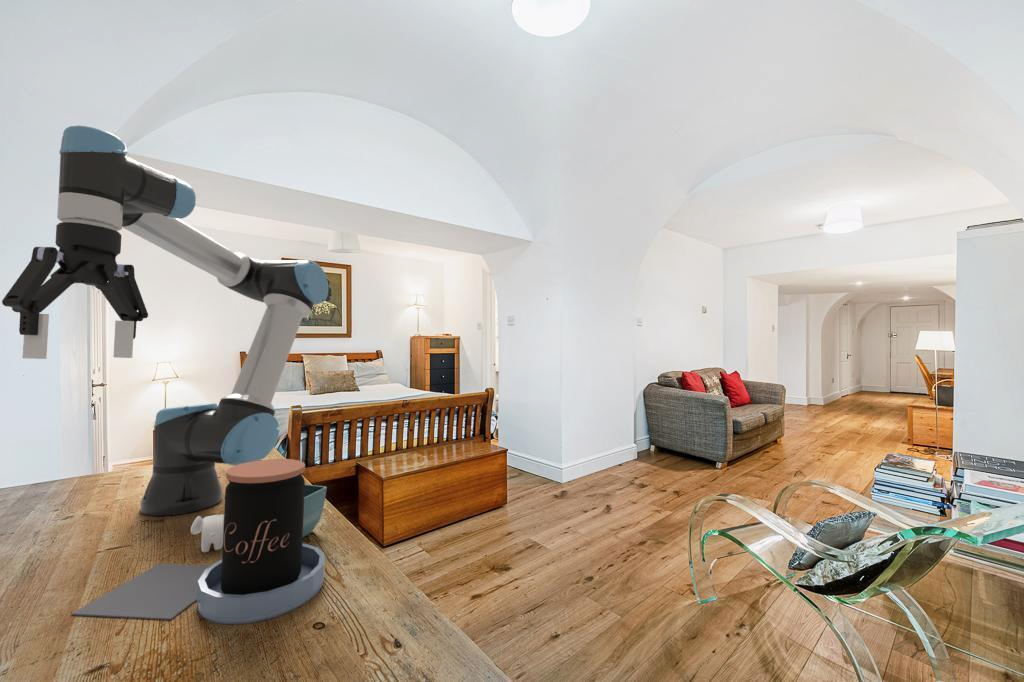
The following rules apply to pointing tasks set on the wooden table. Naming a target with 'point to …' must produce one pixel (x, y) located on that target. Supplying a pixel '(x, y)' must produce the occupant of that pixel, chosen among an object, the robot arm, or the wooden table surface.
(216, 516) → the elephant figurine
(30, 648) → the wooden table surface
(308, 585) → the bowl
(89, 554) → the wooden table surface
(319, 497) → the flower pot
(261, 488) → the coffee jar
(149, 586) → the mat
